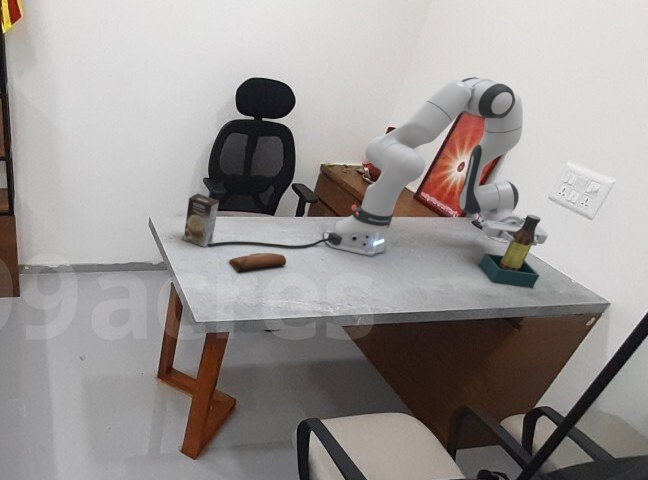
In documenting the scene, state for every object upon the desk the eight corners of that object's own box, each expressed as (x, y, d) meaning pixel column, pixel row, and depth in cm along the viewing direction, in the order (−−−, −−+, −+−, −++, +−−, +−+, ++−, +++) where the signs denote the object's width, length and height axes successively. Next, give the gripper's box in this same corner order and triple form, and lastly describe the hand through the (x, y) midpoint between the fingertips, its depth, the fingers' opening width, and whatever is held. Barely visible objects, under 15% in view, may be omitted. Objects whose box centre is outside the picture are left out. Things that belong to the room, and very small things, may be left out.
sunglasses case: (271, 254, 181) (280, 244, 176) (279, 271, 179) (288, 261, 173) (227, 260, 174) (235, 249, 169) (234, 278, 172) (242, 268, 166)
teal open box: (492, 282, 181) (499, 269, 178) (478, 265, 191) (484, 253, 188) (532, 287, 180) (539, 275, 177) (516, 270, 190) (522, 258, 188)
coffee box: (182, 239, 186) (187, 197, 177) (191, 234, 191) (196, 192, 182) (204, 247, 182) (211, 205, 173) (213, 241, 187) (219, 200, 178)
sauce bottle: (520, 274, 181) (549, 222, 170) (502, 271, 181) (529, 219, 171) (514, 265, 186) (540, 215, 175) (495, 262, 187) (521, 211, 176)
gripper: (481, 213, 188) (497, 229, 176) (539, 221, 186) (558, 238, 175) (474, 229, 191) (489, 245, 179) (530, 237, 190) (549, 254, 178)
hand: (523, 241), depth 177 cm, fingers closed on sauce bottle, 6 cm apart
